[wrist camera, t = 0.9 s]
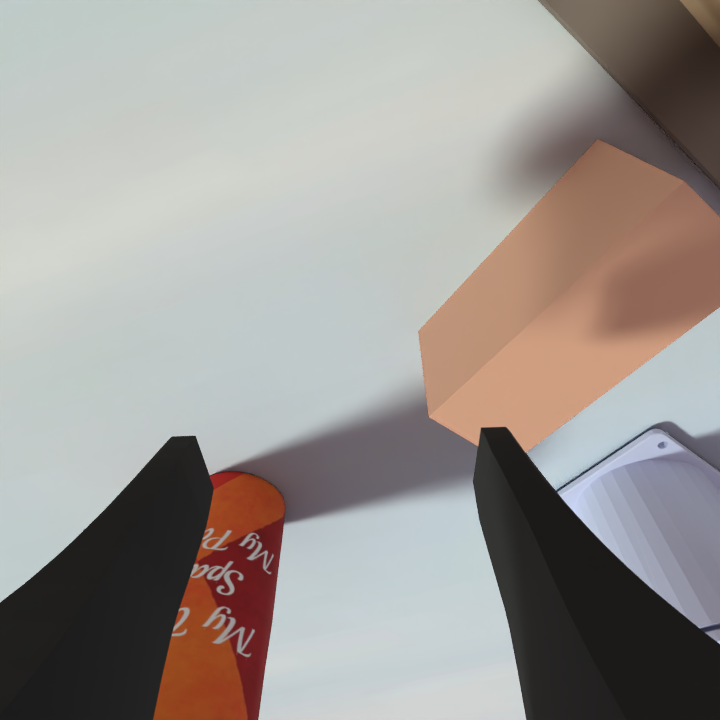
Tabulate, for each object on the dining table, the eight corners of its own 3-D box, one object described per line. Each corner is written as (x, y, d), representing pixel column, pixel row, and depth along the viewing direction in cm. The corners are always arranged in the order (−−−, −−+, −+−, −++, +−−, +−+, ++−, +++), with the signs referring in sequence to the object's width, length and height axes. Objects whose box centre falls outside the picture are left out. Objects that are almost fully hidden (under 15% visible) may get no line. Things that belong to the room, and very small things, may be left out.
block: (596, 138, 17) (684, 181, 12) (665, 204, 18) (771, 268, 13) (418, 330, 22) (428, 417, 17) (482, 372, 23) (509, 465, 18)
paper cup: (294, 457, 27) (227, 780, 15) (309, 540, 31) (266, 840, 19) (159, 458, 27) (-6, 772, 16) (192, 539, 31) (82, 832, 20)
